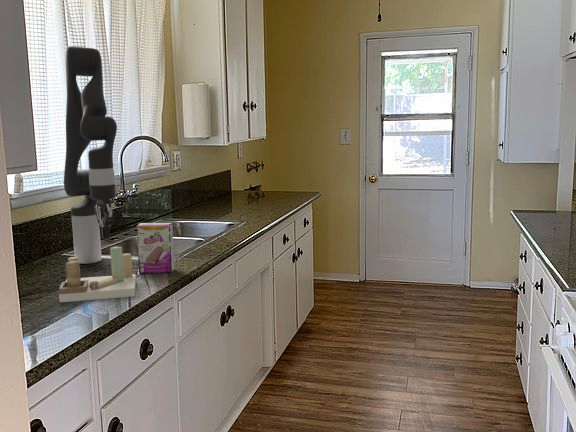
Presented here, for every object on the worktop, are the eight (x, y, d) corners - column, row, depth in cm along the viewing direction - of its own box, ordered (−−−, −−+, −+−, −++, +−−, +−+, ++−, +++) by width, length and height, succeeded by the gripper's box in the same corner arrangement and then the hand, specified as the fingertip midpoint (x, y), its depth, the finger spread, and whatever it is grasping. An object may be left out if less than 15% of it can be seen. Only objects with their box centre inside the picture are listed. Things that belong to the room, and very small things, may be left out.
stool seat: (67, 286, 179) (64, 256, 178) (135, 281, 184) (134, 252, 182) (59, 302, 164) (56, 270, 162) (134, 296, 169) (132, 265, 167)
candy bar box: (138, 274, 192) (135, 225, 190) (141, 270, 197) (139, 222, 195) (172, 273, 193) (170, 224, 190) (174, 269, 198) (172, 222, 195)
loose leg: (68, 288, 169) (66, 261, 168) (81, 287, 170) (79, 260, 168) (66, 291, 166) (64, 264, 164) (80, 290, 166) (78, 263, 165)
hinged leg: (95, 289, 167) (92, 255, 165) (87, 287, 168) (84, 254, 167) (126, 279, 177) (124, 247, 175) (118, 277, 178) (116, 246, 177)
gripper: (121, 184, 174) (125, 240, 177) (107, 180, 184) (111, 233, 187) (96, 186, 169) (100, 243, 173) (83, 182, 180) (87, 236, 183)
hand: (106, 238), depth 180 cm, fingers closed
